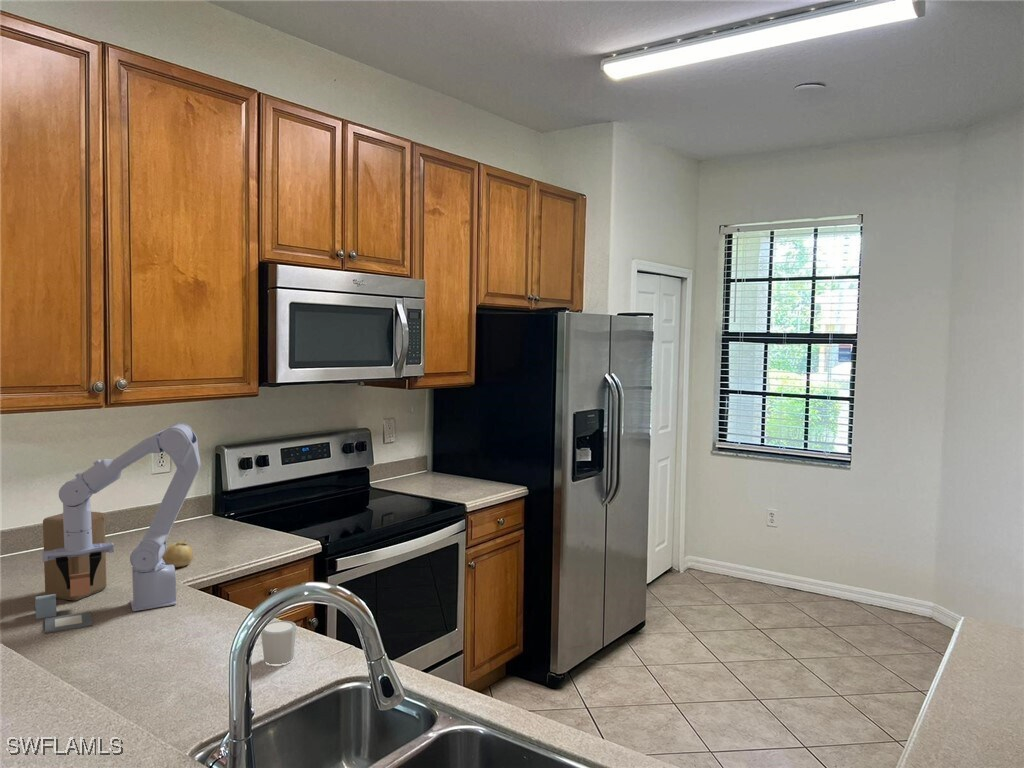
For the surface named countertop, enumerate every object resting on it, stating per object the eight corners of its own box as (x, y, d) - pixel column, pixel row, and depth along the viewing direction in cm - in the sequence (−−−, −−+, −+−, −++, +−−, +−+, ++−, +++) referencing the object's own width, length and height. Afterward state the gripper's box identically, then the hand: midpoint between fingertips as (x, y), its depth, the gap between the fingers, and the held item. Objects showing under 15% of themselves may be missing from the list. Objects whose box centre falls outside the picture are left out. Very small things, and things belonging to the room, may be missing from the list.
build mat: (90, 612, 176) (90, 610, 176) (92, 625, 168) (92, 623, 168) (45, 620, 171) (45, 618, 171) (44, 633, 163) (44, 631, 163)
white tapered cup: (255, 660, 151) (254, 626, 151) (286, 650, 156) (286, 617, 156) (271, 671, 147) (270, 636, 146) (303, 660, 151) (302, 626, 151)
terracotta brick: (89, 588, 181) (89, 572, 180) (90, 593, 177) (89, 577, 177) (70, 591, 179) (69, 575, 178) (70, 596, 175) (70, 579, 175)
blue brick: (56, 610, 177) (55, 593, 177) (56, 615, 174) (55, 599, 174) (36, 613, 175) (35, 596, 175) (35, 619, 172) (35, 602, 172)
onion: (167, 572, 206) (166, 546, 206) (159, 564, 212) (158, 540, 212) (197, 566, 211) (196, 541, 211) (188, 559, 217) (188, 535, 217)
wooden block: (108, 589, 192) (106, 511, 191) (76, 602, 182) (73, 521, 181) (76, 585, 195) (74, 508, 193) (43, 598, 185) (40, 518, 184)
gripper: (111, 521, 184) (113, 576, 185) (41, 529, 176) (44, 586, 177) (113, 528, 178) (115, 584, 179) (41, 536, 170) (43, 595, 171)
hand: (80, 586), depth 178 cm, fingers closed on terracotta brick, 4 cm apart
